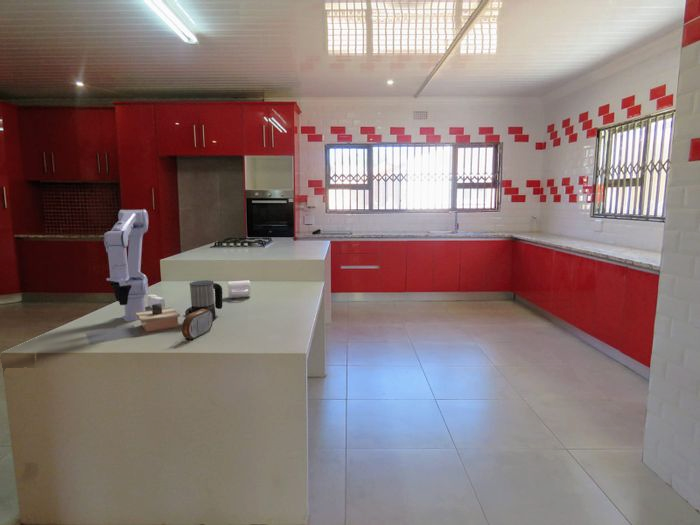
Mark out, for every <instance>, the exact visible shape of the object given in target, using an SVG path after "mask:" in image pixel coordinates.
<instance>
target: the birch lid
mask: <svg viewBox="0 0 700 525" xmlns="http://www.w3.org/2000/svg"><path fill="white" fill-rule="evenodd" d="M135 315H136V316H137V317H138V318H139V319H140V323H141V322H142V323H143V322H149V321H155V320H161V319H167V318H173V317H178V318H180V317H181V314H180V313H179V312H178V311H176V310H175V309H174V308H172V307H165V308H163V309H162V304H154V305H152V308H151V310H145V311H143V312H137V313H135Z"/></svg>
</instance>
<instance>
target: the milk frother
mask: <svg viewBox="0 0 700 525" xmlns="http://www.w3.org/2000/svg"><path fill="white" fill-rule="evenodd" d="M188 285H189V289H190V290H189V291H190V304H191V306H190V307H188V308H187V309H186V310H185V311H184V314H185V316H187V315H189V314H191V313H193V312H196V311H198V310H201V309H206V310H210V311H211V312H212V313H213V321H215V320H216V319H217V315H216V314H217V313H216V309H218V310H220V309H223V287H222V286H221V285H220V284H219V283H217V282H216V283H215V282H214V281H213V280H204V279H203V280H196V281H192V282H189V283H188Z"/></svg>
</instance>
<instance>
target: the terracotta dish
mask: <svg viewBox="0 0 700 525" xmlns="http://www.w3.org/2000/svg"><path fill="white" fill-rule="evenodd" d="M178 318H179V317H173V318H167V319H161V320H155V321H149V322H143V323H142V322H141V321H140V326H141V328H143V330H144V331H145V332H146V333H151V332H155V331H157V332H158V331H163V330H169V329H173V328H178V327H179V319H178Z"/></svg>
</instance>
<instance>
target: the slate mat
mask: <svg viewBox="0 0 700 525" xmlns="http://www.w3.org/2000/svg"><path fill="white" fill-rule="evenodd" d="M85 334H86V337H87V340H88V343H89V345H94V344H101V343H105V342H111V341H117V340H122V339H130V338H134V337H139V336H142V335H141V333H140V331H139V330H138V328H136V326H135V325H134V324H132V325H125V326H118V327H112V328H106V329H99V330H94V331H88V332H85Z"/></svg>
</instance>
